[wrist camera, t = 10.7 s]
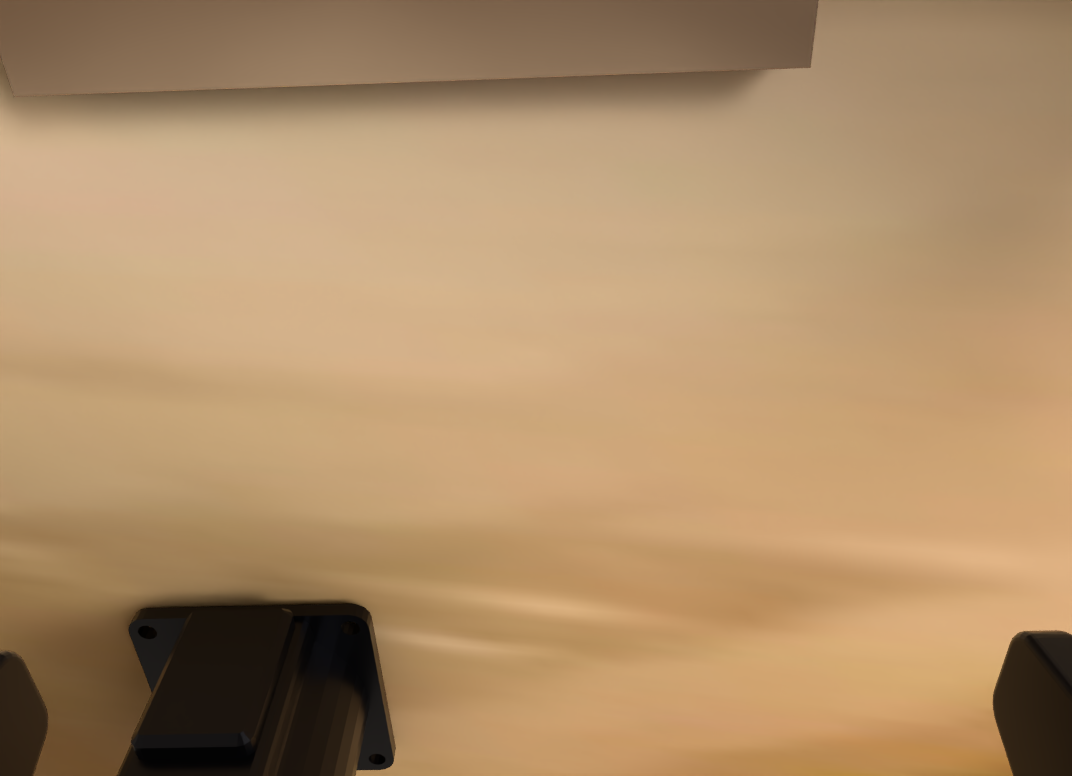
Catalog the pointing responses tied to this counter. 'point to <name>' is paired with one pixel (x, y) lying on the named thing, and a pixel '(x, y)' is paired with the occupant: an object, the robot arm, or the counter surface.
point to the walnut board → (384, 41)
